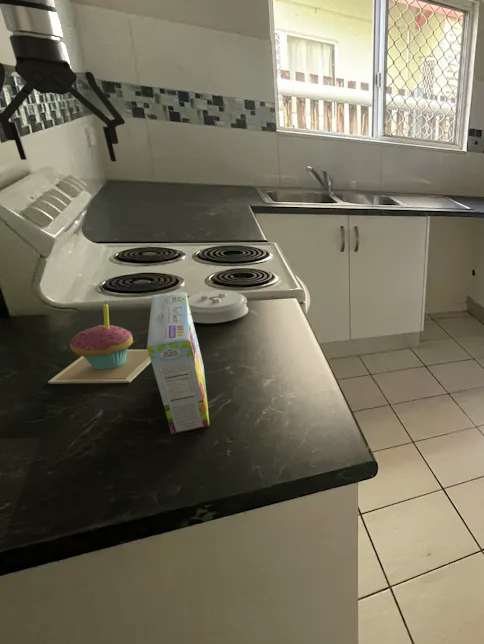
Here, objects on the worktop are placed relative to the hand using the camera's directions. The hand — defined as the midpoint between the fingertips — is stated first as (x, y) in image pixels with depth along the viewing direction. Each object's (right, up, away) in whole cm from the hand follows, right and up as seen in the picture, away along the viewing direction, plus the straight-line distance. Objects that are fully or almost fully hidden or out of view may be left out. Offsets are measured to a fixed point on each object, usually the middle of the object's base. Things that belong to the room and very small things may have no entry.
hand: (70, 160), depth 95 cm
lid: (+21, -31, +14) cm, 40 cm away
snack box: (+35, -46, -16) cm, 60 cm away
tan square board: (+16, -41, -10) cm, 45 cm away
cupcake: (+16, -41, -10) cm, 45 cm away
